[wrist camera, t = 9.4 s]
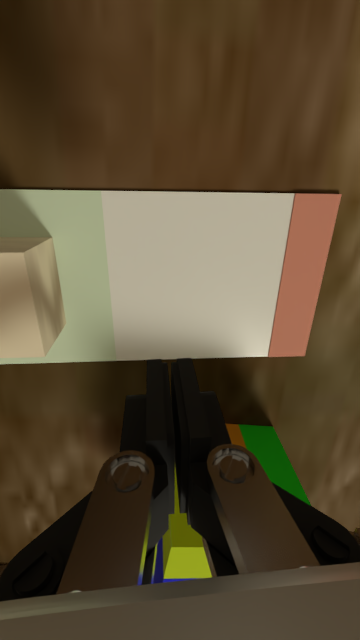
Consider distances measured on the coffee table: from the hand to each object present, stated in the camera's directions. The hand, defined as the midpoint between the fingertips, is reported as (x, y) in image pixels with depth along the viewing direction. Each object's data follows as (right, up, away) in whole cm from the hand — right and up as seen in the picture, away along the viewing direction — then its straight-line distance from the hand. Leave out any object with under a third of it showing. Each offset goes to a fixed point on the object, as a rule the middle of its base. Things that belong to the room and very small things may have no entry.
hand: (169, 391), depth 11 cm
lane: (-4, +5, +9) cm, 11 cm away
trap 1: (+9, +5, +10) cm, 15 cm away
